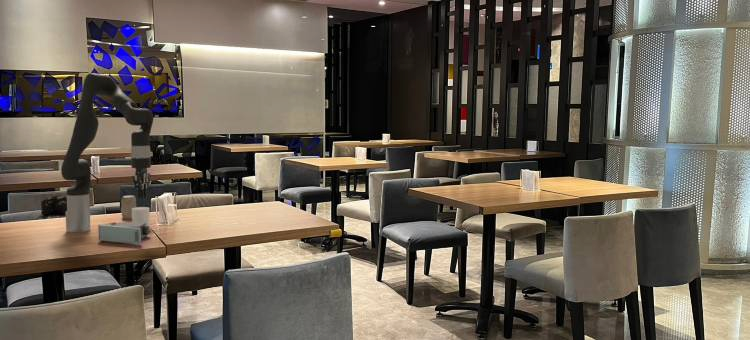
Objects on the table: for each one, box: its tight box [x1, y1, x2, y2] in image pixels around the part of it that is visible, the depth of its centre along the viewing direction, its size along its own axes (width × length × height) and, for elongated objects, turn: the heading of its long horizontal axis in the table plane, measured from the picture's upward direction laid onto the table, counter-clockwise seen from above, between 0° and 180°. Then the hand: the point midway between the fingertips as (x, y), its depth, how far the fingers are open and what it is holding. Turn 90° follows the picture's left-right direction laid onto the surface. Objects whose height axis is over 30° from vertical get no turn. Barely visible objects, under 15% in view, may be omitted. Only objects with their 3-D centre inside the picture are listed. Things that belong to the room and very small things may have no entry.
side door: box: [97, 224, 142, 245], centre depth 235 cm, size 21×2×6 cm, turn 73°
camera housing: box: [105, 222, 150, 240], centre depth 245 cm, size 17×9×7 cm, turn 93°
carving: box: [120, 195, 137, 220], centre depth 291 cm, size 6×8×12 cm
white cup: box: [131, 206, 151, 227], centre depth 265 cm, size 8×8×10 cm
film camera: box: [40, 194, 67, 216], centre depth 307 cm, size 18×12×10 cm
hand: (142, 197), depth 236 cm, fingers closed
